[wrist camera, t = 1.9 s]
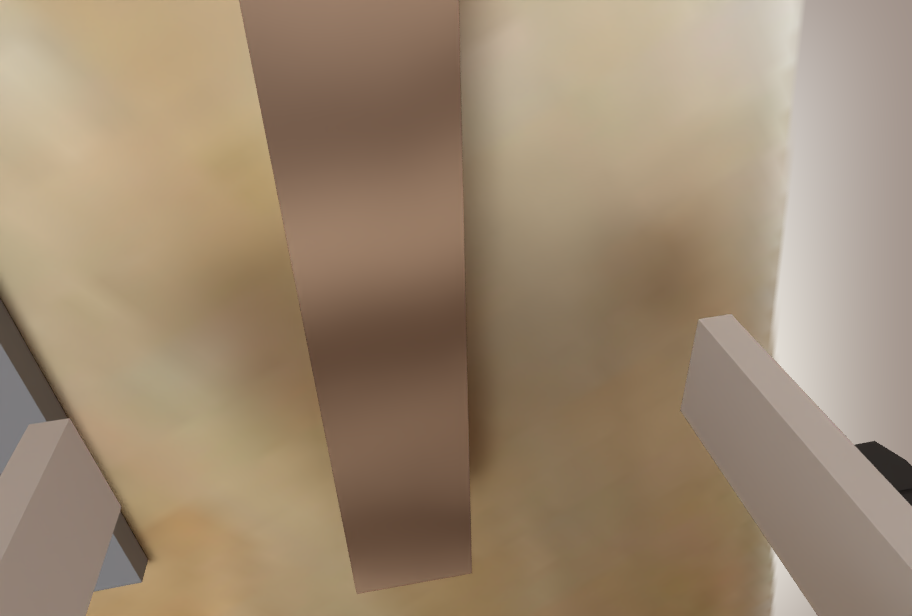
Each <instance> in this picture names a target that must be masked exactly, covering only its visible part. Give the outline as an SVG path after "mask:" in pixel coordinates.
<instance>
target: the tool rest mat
mask: <svg viewBox="0 0 912 616" xmlns="http://www.w3.org/2000/svg"><path fill="white" fill-rule="evenodd" d="M61 419H67V416H66V414H65V412H64V411H63V409H62V407H61V405H60V404H59V402H58V400H57V398H56V397H55V395H54V393H53V391H52V389H51V388H50V386H49V384H48V382H47V381H46V379H45V377H44V375H43V374H42V372H41V370H40V368H39V366H38V365H37V363H36V361H35V359H34V358H33V356H32V354H31V352H30V351H29V349H28V347H27V345H26V343H25V342H24V340H23V338H22V336H21V335H20V333H19V331H18V329H17V328H16V326H15V324H14V322H13V320H12V319H11V317H10V315H9V313H8V312H7V310H6V308H5V306H4V305H3V303H2V301H1V299H0V476H1V474H2V472H3V470H4V468H5V467H6V465H7V463H8V461H9V459H10V458H11V456H12V454H13V452H14V450H15V449H16V447H17V445H18V443H19V441H20V440H21V438H22V436H23V434H24V432H25V431H26V429H27V427H28V425H29V424H35V423H42V422H48V421H55V420H61ZM147 561H148V559H147V558H146V556H145V554H144V552H143V551H142V549H141V547H140V545H139V543H138V542H137V540H136V538H135V536H134V535H133V533H132V531H131V529H130V528H129V526H128V524H127V522H126V520H125V519H124V517H123V515H122V513H121V512H120V513H119V516H118V519H117V522H116V525H115V528H114V531H113V534H112V537H111V540H110V543H109V546H108V549H107V552H106V555H105V558H104V561H103V564H102V567H101V570H100V573H99V576H98V579H97V582H96V585H95V588H94V591H99V590H104V589H109V588H115V587H120V586H125V585H130V584H135V583H141V582H142V580H143V576H144V573H145V569H146V565H147ZM94 591H93V592H94Z"/></svg>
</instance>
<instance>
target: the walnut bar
mask: <svg viewBox="0 0 912 616" xmlns="http://www.w3.org/2000/svg"><path fill="white" fill-rule="evenodd" d="M239 2H240V7H241V12H242V17H243V22H244V28H245V33H246V38H247V43H248V48H249V53H250V58H251V63H252V68H253V73H254V78H255V83H256V88H257V93H258V98H259V103H260V108H261V113H262V118H263V123H264V128H265V133H266V138H267V144H268V149H269V154H270V159H271V164H272V169H273V174H274V179H275V184H276V189H277V194H278V199H279V204H280V209H281V214H282V219H283V224H284V229H285V234H286V239H287V244H288V249H289V255H290V260H291V265H292V270H293V275H294V280H295V285H296V290H297V295H298V300H299V305H300V310H301V315H302V320H303V325H304V330H305V335H306V340H307V345H308V350H309V355H310V360H311V365H312V371H313V376H314V381H315V386H316V391H317V396H318V401H319V406H320V411H321V416H322V421H323V426H324V431H325V436H326V441H327V446H328V451H329V456H330V461H331V466H332V471H333V476H334V481H335V487H336V492H337V497H338V502H339V507H340V512H341V517H342V522H343V527H344V532H345V537H346V542H347V547H348V552H349V557H350V562H351V567H352V572H353V577H354V582H355V587H356V592H357V594H359V593H364V592H370V591H375V590H381V589H387V588H392V587H398V586H403V585H409V584H415V583H420V582H426V581H431V580H437V579H443V578H448V577H454V576H459V575H465V574H470V573H472V556H471V513H470V469H469V426H468V382H467V338H466V295H465V251H464V208H463V164H462V121H461V77H460V33H459V0H239Z"/></svg>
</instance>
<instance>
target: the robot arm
mask: <svg viewBox="0 0 912 616" xmlns="http://www.w3.org/2000/svg"><path fill="white" fill-rule="evenodd" d="M680 411H681V412H682V414H683V415H684V417H685V418H686V420H687V421H688V423H689V424H690V426H691V427H692V429H693V430H694V432H695V433H696V435H697V436H698V438H699V439H700V441H701V442H702V444H703V445H704V447H705V448H706V450H707V451H708V453H709V454H710V456H711V457H712V459H713V460H714V462H715V463H716V465H717V466H718V468H719V469H720V470H721V472H722V473H723V475H724V476H725V478H726V479H727V481H728V482H729V484H730V485H731V487H732V488H733V490H734V491H735V493H736V494H737V496H738V497H739V499H740V500H741V502H742V503H743V505H744V506H745V508H746V509H747V511H748V512H749V514H750V515H751V517H752V518H753V520H754V521H755V523H756V524H757V526H758V527H759V529H760V530H761V532H762V533H763V535H764V536H765V538H766V539H767V541H768V542H769V544H770V545H771V547H772V548H773V550H774V551H775V553H776V554H777V556H778V557H779V559H780V560H781V562H782V563H783V565H784V566H785V567H786V569H787V570H788V572H789V574H790V575H791V577H792V578H793V580H794V581H795V582H796V584H797V585H798V587H799V588H800V590H801V591H802V593H803V594H804V596H805V597H806V599H807V600H808V602H809V603H810V605H811V606H812V608H813V609H814V611H815V612H816V614H817V615H818V616H912V466H911V465H910V464H909V463H908V462H907V461H906V460H905V459H903V458H901V457H900V456H898V455H897V454H895V453H893V452H892V451H890V450H888V449H887V448H885V447H883V446H882V445H880V444H879V443H877V442H875V441H873V442H867V443H862V444H856V445H854V444H853V443H852V442H851V441H850V440H849V439H848V438H847V437H846V436H845V435H844V434H843V432H842V431H841V430H840V429H839V428H838V427H837V426H836V425H835V424H834V423H833V422H832V421H831V420H830V419H829V418H828V417H827V415H826V414H825V413H824V412H823V411H822V410H821V409H820V408H819V407H818V406H817V405H816V404H815V403H814V402H813V401H812V400H811V398H810V397H809V396H808V395H807V394H806V393H805V392H804V391H803V390H802V389H801V388H800V387H799V386H798V385H797V384H796V382H794V380H793V379H792V378H791V377H790V376H789V375H788V374H787V373H786V372H785V371H784V370H783V369H782V368H781V366H780V365H779V364H778V363H777V362H776V361H775V360H774V359H773V358H772V357H771V356H770V355H769V354H768V353H767V352H766V350H765V349H764V348H763V347H762V346H761V345H760V344H759V343H758V342H757V341H756V340H755V339H754V338H753V337H752V336H751V334H750V333H749V332H748V331H747V330H746V329H745V328H744V327H743V326H742V325H741V324H740V323H739V322H738V321H737V320H736V319H735V317H734V316H733V315H732V314H728V315H721V316H715V317H709V318H702V319H698V324H697V329H696V334H695V339H694V344H693V349H692V354H691V359H690V364H689V369H688V374H687V379H686V384H685V389H684V394H683V399H682V405H681V410H680ZM120 510H121V505H120V504H119V502H118V500H117V498H116V497H115V495H114V493H113V492H112V490H111V488H110V486H109V485H108V483H107V481H106V480H105V478H104V476H103V474H102V473H101V471H100V469H99V468H98V466H97V464H96V462H95V461H94V459H93V457H92V455H91V454H90V452H89V450H88V449H87V447H86V445H85V443H84V442H83V440H82V438H81V437H80V435H79V433H78V431H77V430H76V428H75V426H74V425H73V423H72V421H71V419H70V418H67V419H61V420H55V421H48V422H42V423H35V424H29V425H28V427H27V429H26V431H25V432H24V434H23V436H22V438H21V440H20V441H19V443H18V445H17V447H16V449H15V450H14V452H13V454H12V456H11V458H10V459H9V461H8V463H7V465H6V467H5V468H4V470H3V472H2V474H1V476H0V616H86V613H87V610H88V607H89V604H90V601H91V597H92V594H93V591H94V588H95V585H96V582H97V579H98V576H99V573H100V570H101V567H102V564H103V561H104V558H105V555H106V552H107V549H108V546H109V543H110V540H111V537H112V534H113V531H114V528H115V525H116V522H117V519H118V516H119V513H120Z"/></svg>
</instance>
